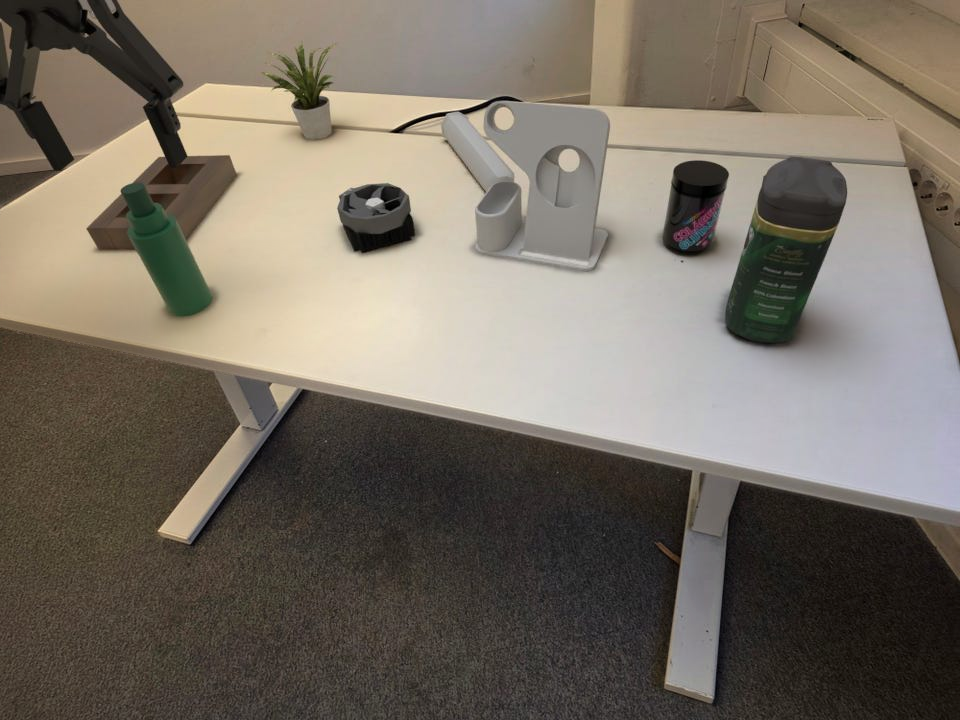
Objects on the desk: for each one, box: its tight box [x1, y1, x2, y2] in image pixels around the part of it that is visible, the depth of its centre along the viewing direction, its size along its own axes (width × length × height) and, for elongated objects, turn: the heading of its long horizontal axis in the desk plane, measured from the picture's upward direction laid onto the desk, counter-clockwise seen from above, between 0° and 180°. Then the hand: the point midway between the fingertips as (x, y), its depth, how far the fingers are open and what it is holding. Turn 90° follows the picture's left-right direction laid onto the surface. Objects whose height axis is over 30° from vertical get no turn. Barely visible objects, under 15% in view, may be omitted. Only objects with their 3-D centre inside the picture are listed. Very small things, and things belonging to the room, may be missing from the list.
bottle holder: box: [85, 154, 238, 251], centre depth 98 cm, size 13×23×4 cm, turn 175°
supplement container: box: [661, 159, 730, 256], centre depth 80 cm, size 7×7×10 cm
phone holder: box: [474, 100, 611, 272], centre depth 79 cm, size 17×10×18 cm, turn 68°
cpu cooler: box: [336, 182, 416, 254], centre depth 88 cm, size 10×6×10 cm
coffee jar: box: [724, 156, 848, 344], centre depth 65 cm, size 10×8×19 cm
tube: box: [440, 111, 515, 193], centre depth 101 cm, size 5×5×25 cm
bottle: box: [120, 182, 213, 317], centre depth 75 cm, size 6×6×17 cm
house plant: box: [260, 40, 339, 141], centre depth 112 cm, size 14×14×16 cm
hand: (121, 164), depth 67 cm, fingers open, 13 cm apart
